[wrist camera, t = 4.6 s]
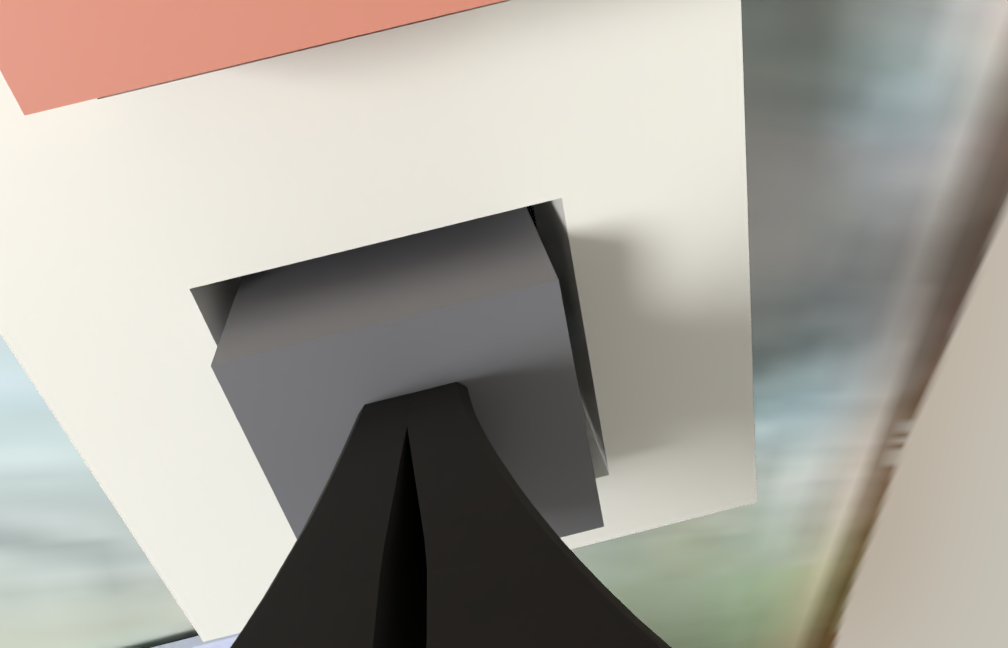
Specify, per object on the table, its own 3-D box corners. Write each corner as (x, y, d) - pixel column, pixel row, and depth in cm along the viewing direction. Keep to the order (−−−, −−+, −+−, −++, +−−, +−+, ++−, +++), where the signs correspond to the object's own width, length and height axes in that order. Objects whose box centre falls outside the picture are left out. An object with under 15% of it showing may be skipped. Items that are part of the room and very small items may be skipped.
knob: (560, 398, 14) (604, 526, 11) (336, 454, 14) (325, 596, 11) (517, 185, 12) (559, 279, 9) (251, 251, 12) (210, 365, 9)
